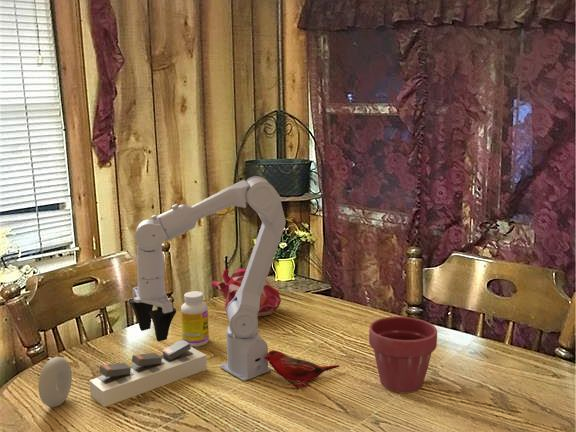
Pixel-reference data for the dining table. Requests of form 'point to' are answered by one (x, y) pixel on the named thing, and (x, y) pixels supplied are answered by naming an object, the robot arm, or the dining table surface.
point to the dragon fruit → (229, 288)
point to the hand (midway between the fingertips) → (153, 334)
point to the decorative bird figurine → (295, 368)
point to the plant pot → (402, 351)
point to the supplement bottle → (194, 319)
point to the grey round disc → (55, 381)
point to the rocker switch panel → (146, 377)
